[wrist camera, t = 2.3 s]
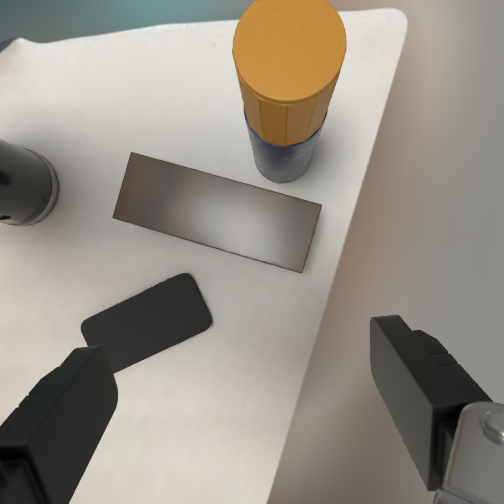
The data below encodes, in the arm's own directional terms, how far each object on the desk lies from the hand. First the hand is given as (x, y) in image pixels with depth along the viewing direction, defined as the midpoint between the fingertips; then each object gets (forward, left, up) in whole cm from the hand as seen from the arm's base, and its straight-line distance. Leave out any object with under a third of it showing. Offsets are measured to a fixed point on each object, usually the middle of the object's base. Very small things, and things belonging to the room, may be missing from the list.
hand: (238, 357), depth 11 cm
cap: (-9, +12, -17) cm, 23 cm away
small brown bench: (-9, +1, -31) cm, 32 cm away
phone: (-6, -14, -31) cm, 35 cm away
